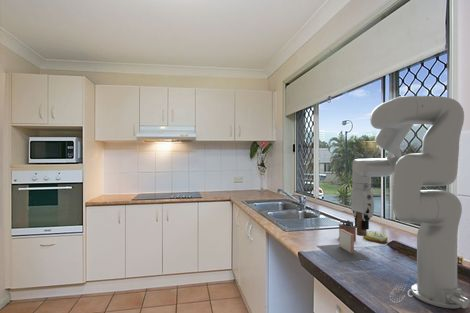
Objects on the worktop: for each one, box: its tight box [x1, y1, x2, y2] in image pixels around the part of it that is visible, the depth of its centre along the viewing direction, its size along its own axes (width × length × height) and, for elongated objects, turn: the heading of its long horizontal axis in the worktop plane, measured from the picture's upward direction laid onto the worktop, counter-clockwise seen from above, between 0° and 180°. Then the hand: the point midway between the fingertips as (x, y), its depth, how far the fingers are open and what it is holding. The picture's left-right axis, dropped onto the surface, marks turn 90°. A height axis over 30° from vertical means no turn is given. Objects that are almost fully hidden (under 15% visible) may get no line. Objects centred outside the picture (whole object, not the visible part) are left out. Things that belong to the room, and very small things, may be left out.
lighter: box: [338, 219, 357, 242], centre depth 134 cm, size 8×3×10 cm, turn 58°
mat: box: [316, 244, 371, 263], centre depth 116 cm, size 19×14×1 cm
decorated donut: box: [362, 230, 389, 244], centre depth 134 cm, size 10×11×4 cm
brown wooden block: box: [356, 211, 368, 237], centre depth 120 cm, size 4×4×13 cm
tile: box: [338, 228, 355, 254], centre depth 118 cm, size 9×1×8 cm, turn 10°
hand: (361, 227), depth 120 cm, fingers closed on brown wooden block, 4 cm apart
